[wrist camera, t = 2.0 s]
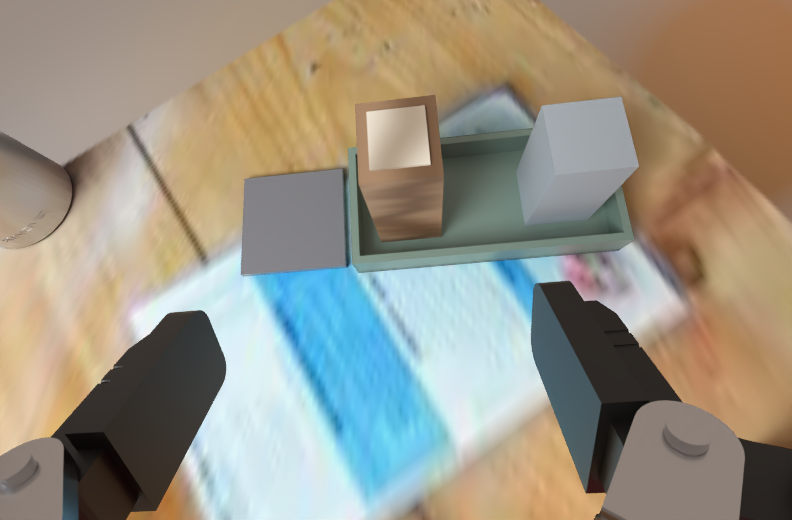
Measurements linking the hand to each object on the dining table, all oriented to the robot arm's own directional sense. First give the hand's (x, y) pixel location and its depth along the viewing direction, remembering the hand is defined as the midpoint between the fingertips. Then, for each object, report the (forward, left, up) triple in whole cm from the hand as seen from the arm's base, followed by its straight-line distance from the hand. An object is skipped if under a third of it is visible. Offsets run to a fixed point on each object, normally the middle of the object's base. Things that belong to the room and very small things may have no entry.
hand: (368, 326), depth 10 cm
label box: (-10, +8, -23) cm, 26 cm away
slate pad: (-16, -1, -23) cm, 28 cm away
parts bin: (-7, +13, -23) cm, 27 cm away
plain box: (-3, +18, -23) cm, 29 cm away
